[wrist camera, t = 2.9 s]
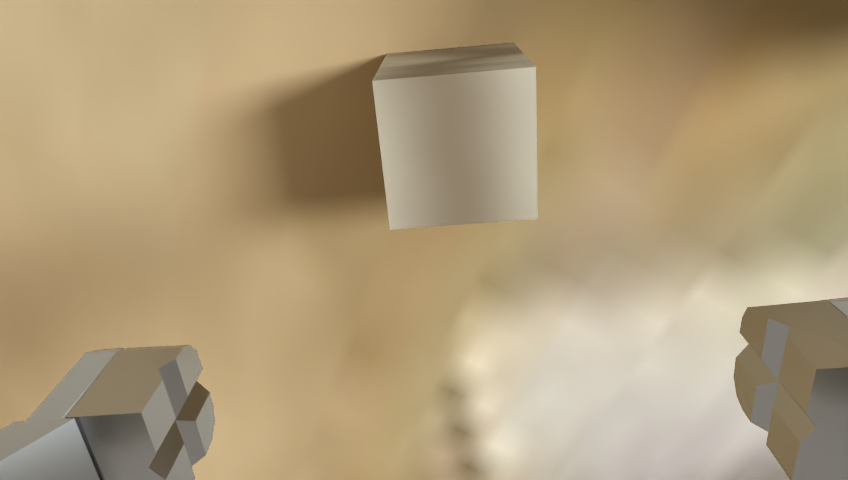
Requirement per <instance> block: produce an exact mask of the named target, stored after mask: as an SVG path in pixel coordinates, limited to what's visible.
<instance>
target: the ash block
mask: <svg viewBox="0 0 848 480" xmlns="http://www.w3.org/2000/svg"><path fill="white" fill-rule="evenodd" d="M372 85H373V93H374V101H375V110H376V118H377V126H378V134H379V143H380V151H381V159H382V168H383V176H384V184H385V193H386V201H387V209H388V218H389V226H390V230H391V229H405V228H419V227H433V226H447V225H461V224H475V223H488V222H502V221H516V220H530V219H538V213H537V127H536V67H535V65H534V64H533V63H532V62H531V61H530V60H529V59H528V58H527V57H526V56H525V54H524V53H523V52H522V51H521V50H520V49H519V48H518V47H517V46H516V45H515V43H503V44H492V45H481V46H469V47H458V48H446V49H435V50H424V51H412V52H401V53H389V54H386V56H385V58H384V60H383V62H382V63H381V65H380V67H379V69H378V71H377V73H376V75H375V76H374V78H373V80H372Z"/></svg>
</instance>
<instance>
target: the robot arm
mask: <svg viewBox="0 0 848 480" xmlns="http://www.w3.org/2000/svg"><path fill="white" fill-rule="evenodd" d="M740 333H741V335H742V336H743V337H744V339H745V340H746V341H747V343H748V345H747V347H746V348H745V349H744V350H743V351H742V352H741V353H740V354H739V355H738V356H737V357H736V361H735V370H734V382H735V388H736V394H737V397H738V400H739V402H740V405H741V407H742V409H743V411H744V413H745V414H746V416H747V417H748V419H749V420H750V422H752V423H754V424H755V425H757V426H759V427H761V428H763V429H764V430H766V431H768V438H767V443H766V445H767V446H768V448H769V449H770V451H771V452H772V454H773V455H774V457H775V458H776V459H777V461H778V462H779V464H780V465H781V467H782V468H783V469H784V471H785V472H786V474H787V475H788V477H789V478H790V479H791V480H848V298H839V299H829V300H820V301H813V302H802V303H791V304H780V305H769V306H758V307H747V309H746V311H745V313H744V315H743V317H742V322H741V328H740ZM202 369H203V367H202V364H201V361H200V359H199V356H198V353H197V350H196V349H194V348H193V347H192V346H190V345H178V346H157V347H137V348H126V349H124V348H116V349H103V350H94V351H91V352H87V353H85V354H84V355H83V357H82V358H81V359H80V360H79V361H78V362H77V363H76V365H75V366H74V367H73V368H72V369H71V370H70V371H69V372H68V374H67V375H66V376H65V377H64V378H63V379H62V380H61V382H60V383H59V384H58V385H57V386H56V387H55V388H54V390H53V391H52V392H51V393H50V394H49V395H48V396H47V398H46V399H45V400H44V401H43V402H42V403H41V404H40V405H39V407H38V408H37V409H36V410H35V411H34V412H33V413H32V415H31V416H30V417H29V418H28V419H27V420H26V421H21V422H14V423H12V424H10V425H8V426H6V427H5V428H3V429H1V430H0V480H195V476H194V473H193V470H192V465H194V464H195V463H196V462H197V461H199V460H200V459H201V458H203V457H204V456H205V455H206V453H207V451H208V449H209V446H210V444H211V441H212V437H213V430H214V423H215V417H214V406H213V402H212V398H211V395H210V392H209V391H208V390H206V389H205V388H204V387H203V386H202V385H201V384H199V383H198V382H197V379H198V377H199V375H200V373H201V371H202Z"/></svg>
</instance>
